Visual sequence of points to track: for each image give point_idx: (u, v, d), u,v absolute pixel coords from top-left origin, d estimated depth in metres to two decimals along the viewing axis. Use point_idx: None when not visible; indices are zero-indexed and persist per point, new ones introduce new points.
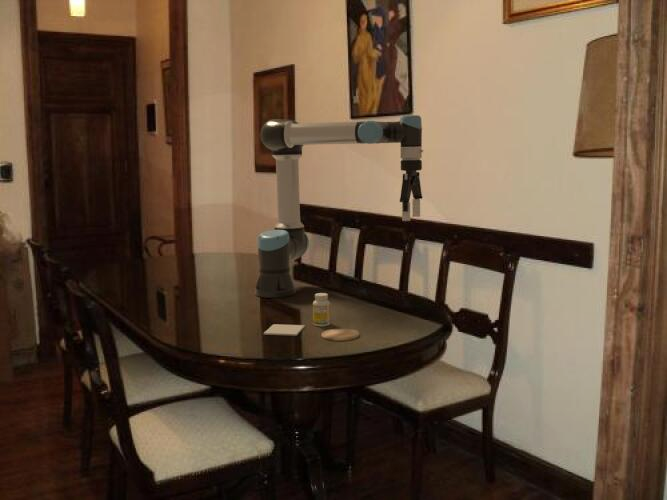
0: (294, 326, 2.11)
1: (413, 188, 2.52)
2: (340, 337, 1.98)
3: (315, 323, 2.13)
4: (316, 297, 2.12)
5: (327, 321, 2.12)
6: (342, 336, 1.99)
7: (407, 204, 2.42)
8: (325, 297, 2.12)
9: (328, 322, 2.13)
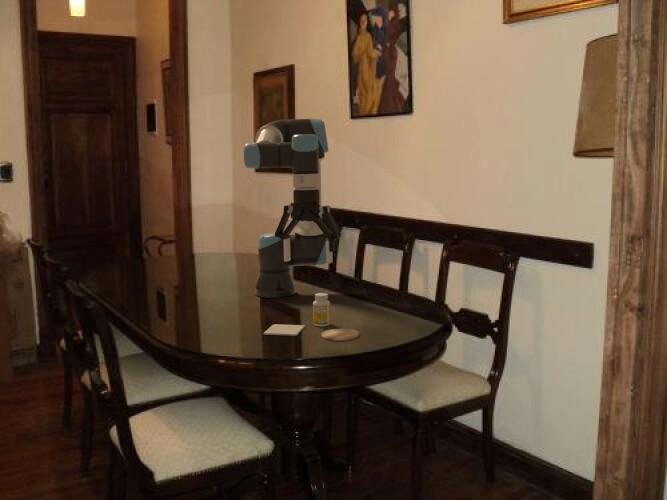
0: (294, 326, 2.11)
1: None
2: (340, 337, 1.98)
3: (315, 323, 2.13)
4: (316, 297, 2.12)
5: (327, 321, 2.12)
6: (342, 336, 1.99)
7: (282, 241, 2.03)
8: (325, 297, 2.12)
9: (328, 322, 2.13)
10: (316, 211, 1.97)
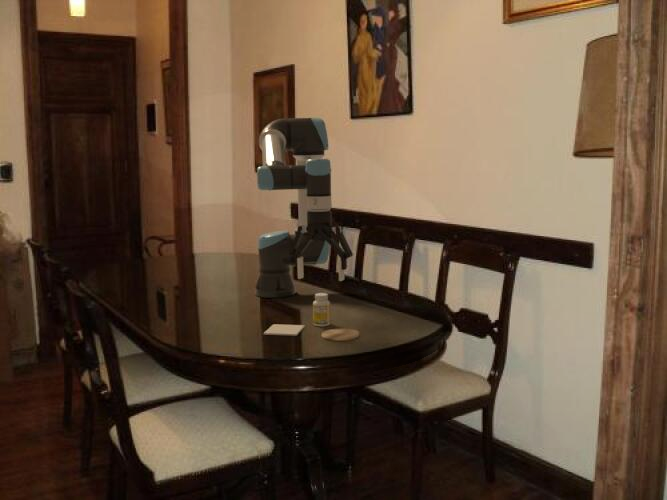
0: (294, 326, 2.11)
1: None
2: (340, 337, 1.98)
3: (315, 323, 2.13)
4: (316, 297, 2.12)
5: (327, 321, 2.12)
6: (342, 336, 1.99)
7: (296, 259, 2.13)
8: (325, 297, 2.12)
9: (328, 322, 2.13)
10: (329, 231, 2.08)
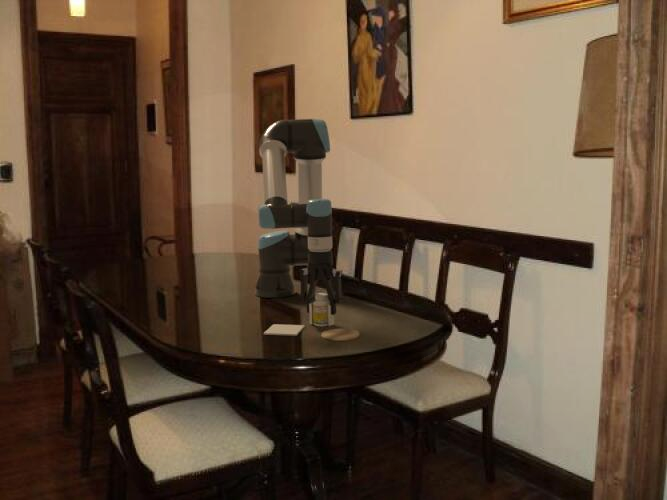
0: (294, 326, 2.11)
1: None
2: (340, 337, 1.98)
3: (315, 323, 2.13)
4: (316, 297, 2.12)
5: (327, 321, 2.12)
6: (342, 336, 1.99)
7: (308, 305, 2.14)
8: (325, 297, 2.12)
9: None
10: (329, 272, 2.10)
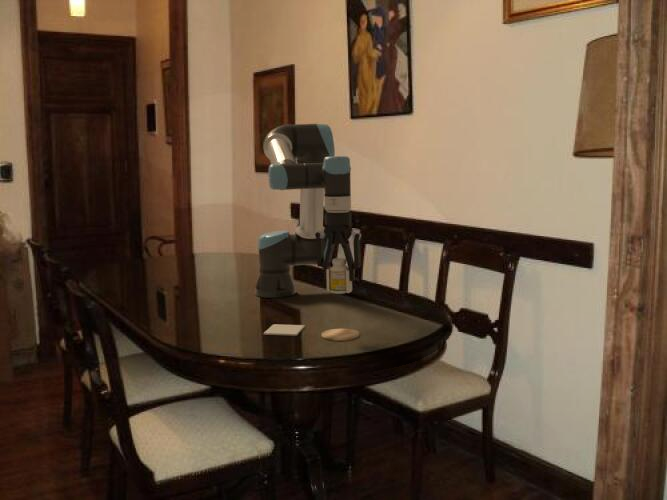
0: (294, 326, 2.11)
1: None
2: (340, 337, 1.98)
3: (333, 290, 1.98)
4: (334, 262, 1.97)
5: (345, 288, 1.98)
6: (342, 336, 1.99)
7: (325, 271, 2.00)
8: (343, 262, 1.97)
9: None
10: (347, 234, 1.95)
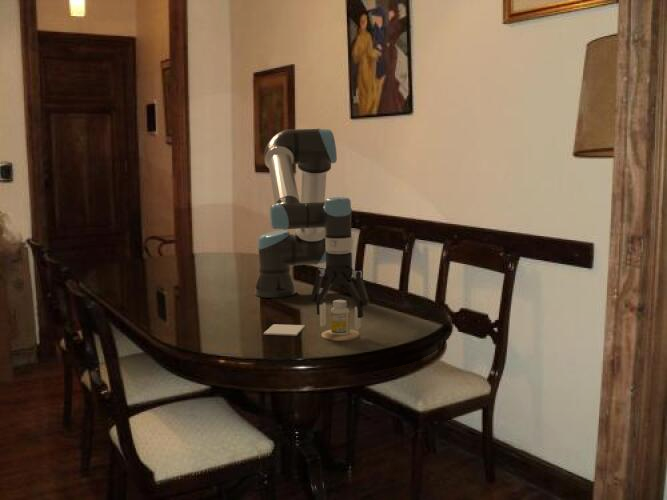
0: (294, 326, 2.11)
1: None
2: (340, 337, 1.98)
3: (333, 332, 2.00)
4: (334, 304, 1.99)
5: (346, 330, 2.00)
6: (342, 336, 1.99)
7: (318, 306, 2.02)
8: (344, 304, 1.99)
9: (347, 331, 2.00)
10: (349, 275, 1.97)
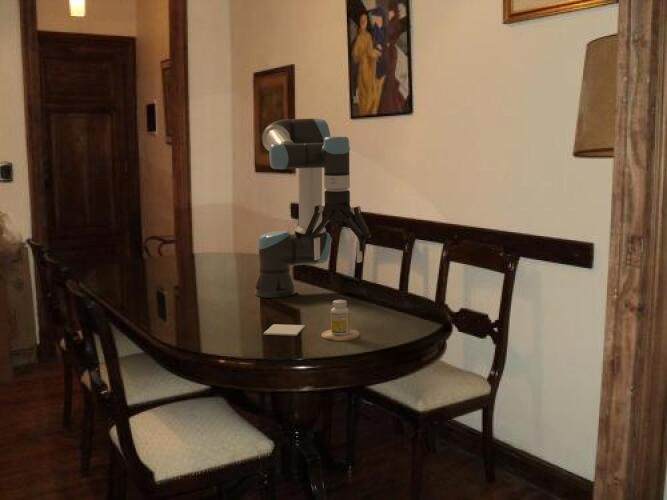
0: (294, 326, 2.11)
1: None
2: (340, 337, 1.98)
3: (333, 332, 2.00)
4: (334, 304, 1.99)
5: (346, 330, 2.00)
6: (342, 336, 1.99)
7: (313, 240, 2.08)
8: (344, 304, 1.99)
9: (347, 331, 2.00)
10: (347, 212, 2.02)
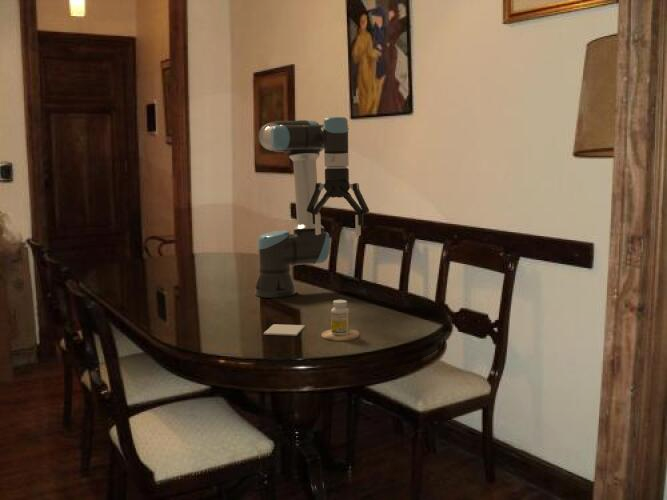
0: (294, 326, 2.11)
1: None
2: (340, 337, 1.98)
3: (333, 332, 2.00)
4: (335, 304, 1.99)
5: (346, 330, 2.00)
6: (342, 336, 1.99)
7: (314, 216, 2.20)
8: (344, 304, 1.99)
9: (347, 331, 2.00)
10: (346, 188, 2.14)
